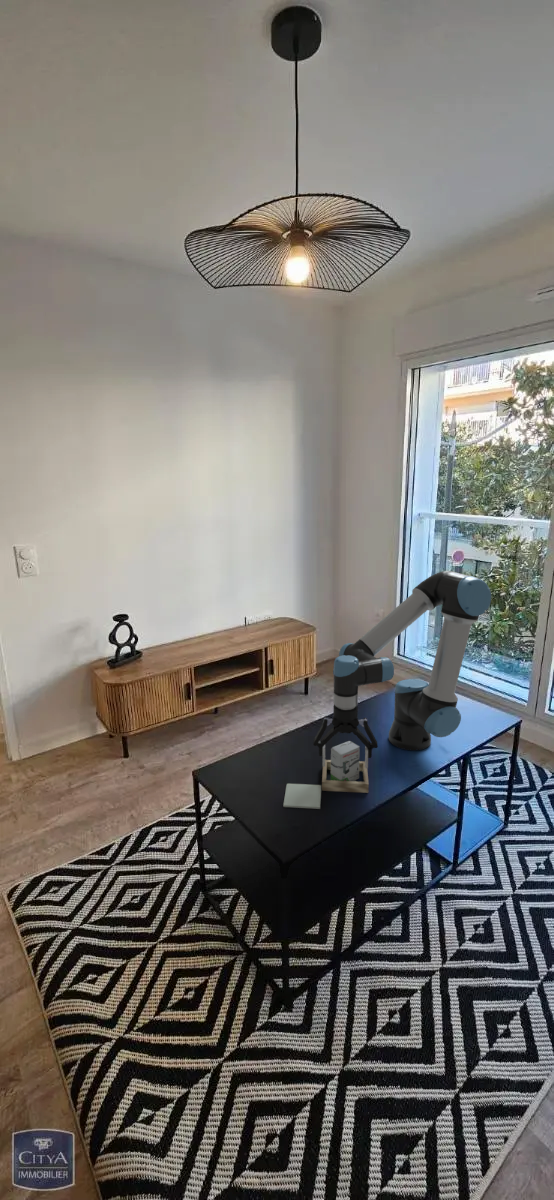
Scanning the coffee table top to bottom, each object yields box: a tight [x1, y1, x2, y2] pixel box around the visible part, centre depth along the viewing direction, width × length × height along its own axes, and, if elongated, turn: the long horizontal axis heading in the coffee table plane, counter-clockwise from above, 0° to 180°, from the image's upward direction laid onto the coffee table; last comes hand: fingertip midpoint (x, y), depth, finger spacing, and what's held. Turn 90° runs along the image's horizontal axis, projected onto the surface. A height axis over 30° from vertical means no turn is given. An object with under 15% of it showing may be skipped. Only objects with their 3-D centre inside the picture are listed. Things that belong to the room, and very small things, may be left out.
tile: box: [282, 783, 322, 810], centre depth 159 cm, size 11×11×1 cm
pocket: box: [321, 759, 370, 794], centre depth 166 cm, size 14×13×3 cm
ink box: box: [330, 740, 361, 781], centre depth 165 cm, size 9×5×12 cm, turn 126°
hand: (345, 765), depth 165 cm, fingers open, 13 cm apart
